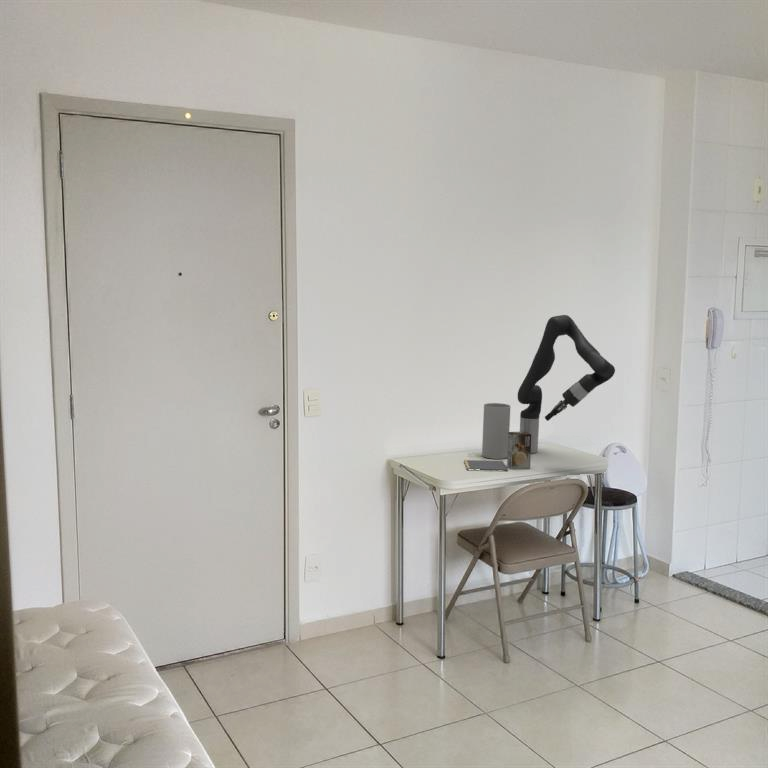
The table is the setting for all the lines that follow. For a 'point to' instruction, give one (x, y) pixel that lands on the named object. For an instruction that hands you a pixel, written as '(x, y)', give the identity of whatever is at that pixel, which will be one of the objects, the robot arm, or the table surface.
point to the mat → (485, 465)
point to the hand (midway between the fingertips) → (546, 419)
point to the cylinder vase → (495, 430)
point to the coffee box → (519, 450)
